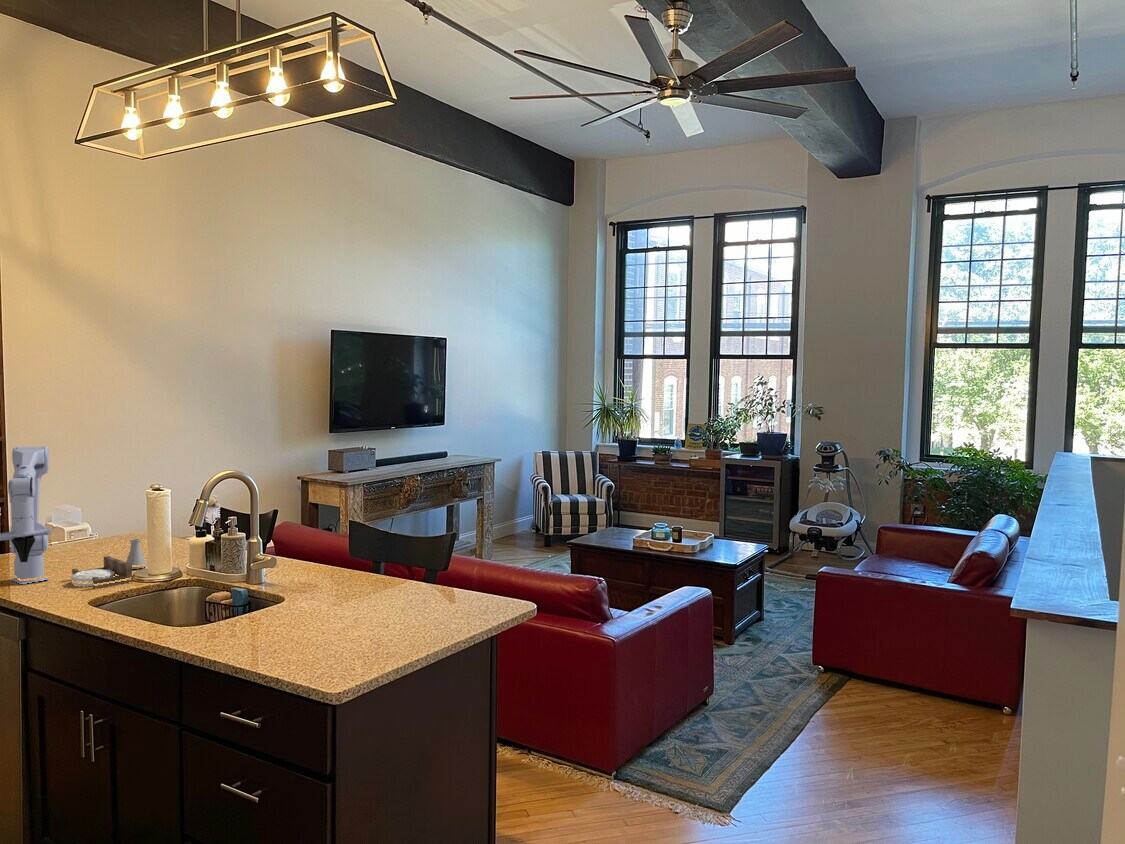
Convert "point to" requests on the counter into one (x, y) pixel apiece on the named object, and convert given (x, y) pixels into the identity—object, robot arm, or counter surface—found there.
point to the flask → (136, 554)
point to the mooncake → (89, 574)
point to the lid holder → (115, 565)
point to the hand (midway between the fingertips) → (23, 561)
